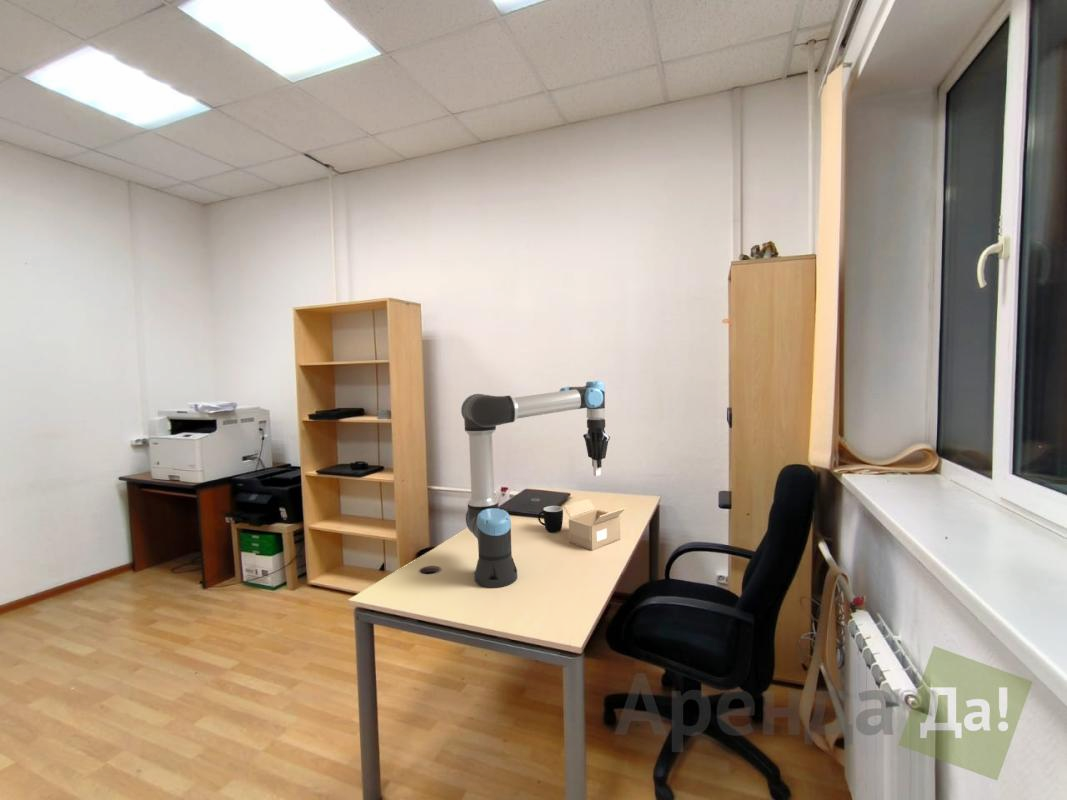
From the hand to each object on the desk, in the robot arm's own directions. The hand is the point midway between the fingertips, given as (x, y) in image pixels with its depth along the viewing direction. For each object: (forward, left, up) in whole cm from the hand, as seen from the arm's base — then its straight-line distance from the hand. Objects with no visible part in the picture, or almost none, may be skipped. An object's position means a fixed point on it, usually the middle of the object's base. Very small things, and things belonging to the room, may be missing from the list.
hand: (597, 475), depth 193 cm
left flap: (0, +11, -16) cm, 19 cm away
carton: (0, +2, -29) cm, 29 cm away
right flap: (0, -6, -16) cm, 17 cm away
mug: (-4, +26, -29) cm, 39 cm away
